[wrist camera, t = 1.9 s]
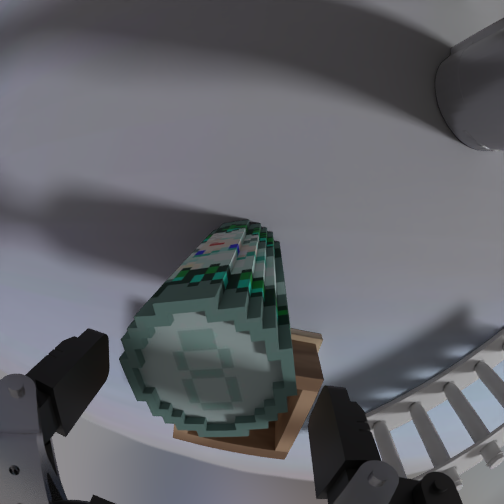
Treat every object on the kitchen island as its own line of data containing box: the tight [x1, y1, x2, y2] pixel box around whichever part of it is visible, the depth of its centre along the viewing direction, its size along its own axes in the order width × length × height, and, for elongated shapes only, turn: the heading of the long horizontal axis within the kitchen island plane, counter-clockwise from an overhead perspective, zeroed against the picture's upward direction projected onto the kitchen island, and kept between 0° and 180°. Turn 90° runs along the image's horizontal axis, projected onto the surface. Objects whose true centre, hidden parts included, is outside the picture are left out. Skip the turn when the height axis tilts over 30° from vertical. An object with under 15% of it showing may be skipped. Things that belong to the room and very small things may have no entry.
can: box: [119, 220, 297, 437], centre depth 17 cm, size 6×6×15 cm
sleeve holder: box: [173, 328, 324, 459], centre depth 24 cm, size 11×11×6 cm
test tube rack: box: [365, 328, 504, 491], centre depth 20 cm, size 25×4×13 cm, turn 120°
